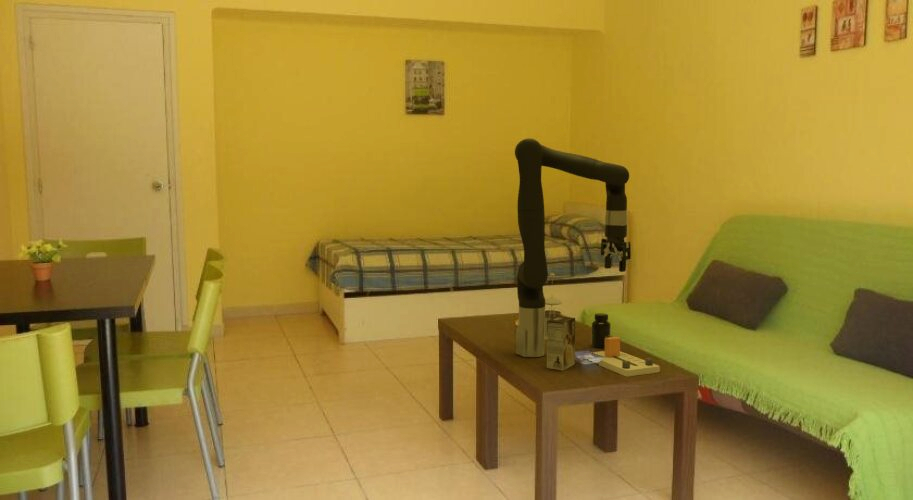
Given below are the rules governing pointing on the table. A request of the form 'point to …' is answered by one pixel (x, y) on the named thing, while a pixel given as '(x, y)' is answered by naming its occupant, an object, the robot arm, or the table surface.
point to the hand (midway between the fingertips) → (614, 270)
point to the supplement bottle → (600, 330)
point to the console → (628, 364)
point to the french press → (549, 313)
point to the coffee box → (560, 343)
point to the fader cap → (612, 346)
